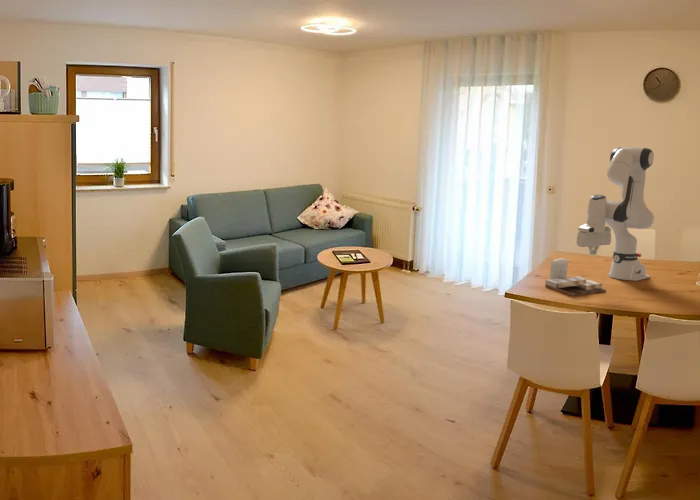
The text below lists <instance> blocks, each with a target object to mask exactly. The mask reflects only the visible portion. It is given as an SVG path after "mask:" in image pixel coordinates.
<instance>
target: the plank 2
mask: <svg viewBox="0 0 700 500" xmlns="http://www.w3.org/2000/svg"><path fill="white" fill-rule="evenodd" d="M575 287H578V288H581V289H584V290H591V289H599V288H603V283H602V282H598V281H595V280H592V279H589V280H586V284H585V285H579V286H575Z"/></svg>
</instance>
